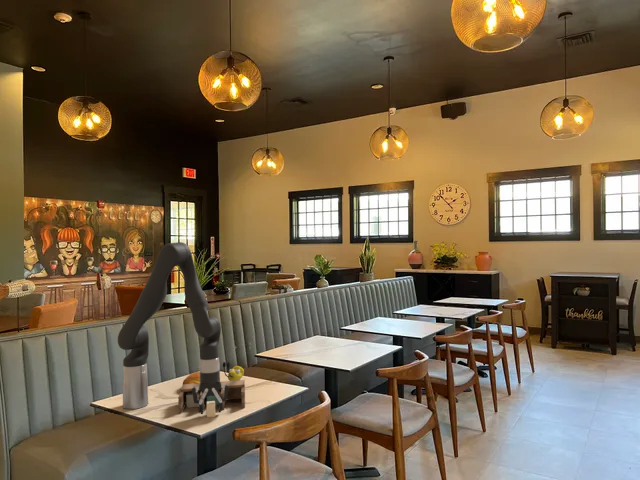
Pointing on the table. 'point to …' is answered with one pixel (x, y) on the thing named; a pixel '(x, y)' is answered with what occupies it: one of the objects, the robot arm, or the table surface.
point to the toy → (234, 372)
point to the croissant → (192, 378)
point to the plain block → (190, 399)
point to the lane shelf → (234, 392)
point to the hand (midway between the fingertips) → (211, 412)
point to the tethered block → (211, 405)
